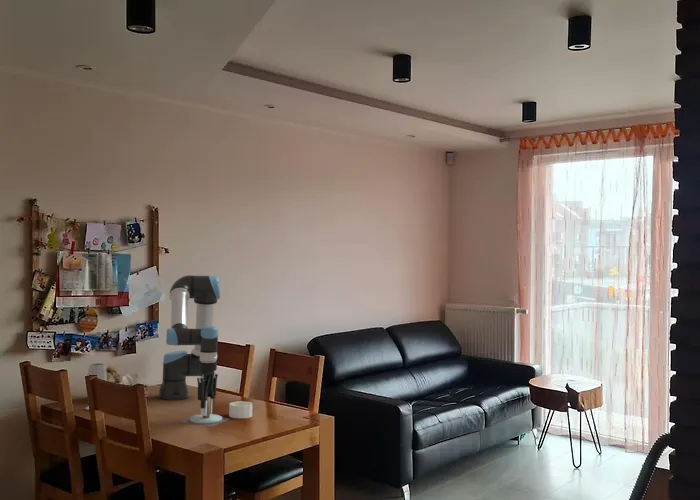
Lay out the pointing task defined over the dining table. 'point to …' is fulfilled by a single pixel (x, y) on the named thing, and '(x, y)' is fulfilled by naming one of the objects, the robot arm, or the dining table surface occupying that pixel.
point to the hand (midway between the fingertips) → (206, 414)
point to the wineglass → (97, 372)
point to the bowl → (240, 409)
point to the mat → (205, 424)
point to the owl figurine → (113, 374)
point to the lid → (206, 419)
